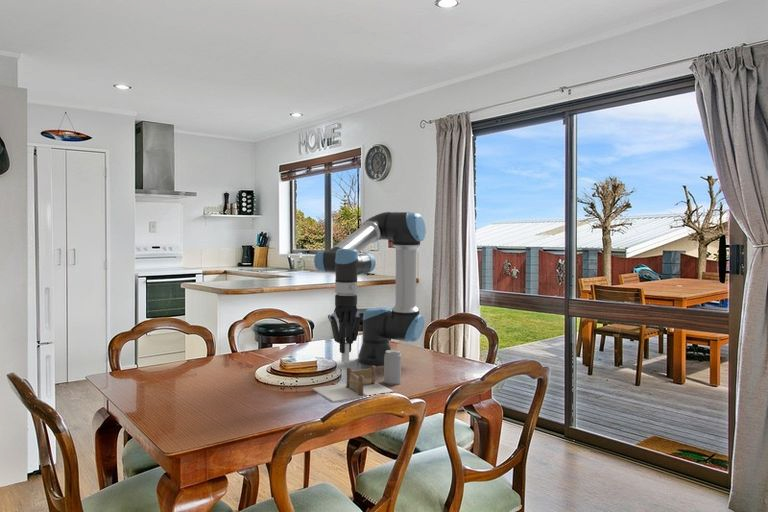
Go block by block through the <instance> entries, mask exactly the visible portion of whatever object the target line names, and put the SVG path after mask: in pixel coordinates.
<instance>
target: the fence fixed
mask: <svg viewBox="0 0 768 512" xmlns="http://www.w3.org/2000/svg"><path fill="white" fill-rule="evenodd" d="M376 366H377V365H370V368H363V369H356V370H353V368H352V367H346V383H347V385H346V387H347V388H350V387H349V379H350V373H354V374H356V375H357V376H359V375H363V376H364V384H368V383H370V384H375V382H376Z"/></svg>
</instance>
